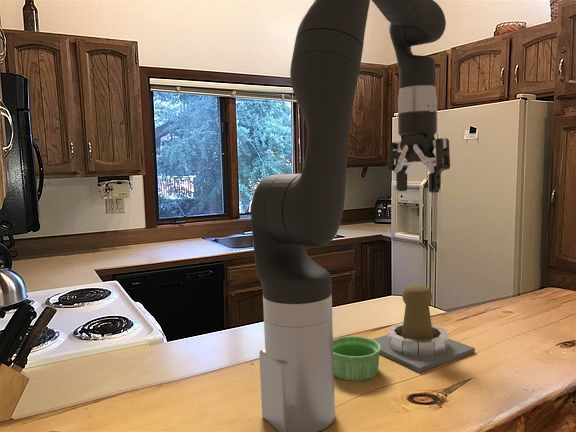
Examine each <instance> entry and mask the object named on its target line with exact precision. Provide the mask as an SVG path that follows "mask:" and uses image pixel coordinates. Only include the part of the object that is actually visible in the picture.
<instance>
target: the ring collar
mask: <svg viewBox="0 0 576 432" xmlns="http://www.w3.org/2000/svg"><path fill="white" fill-rule="evenodd" d="M431 324H432V323H431ZM402 330H403V322H400V323H397V324H392V325H390V327H388V329H387V330H386V331H387V332H386V335H387V344H388V345H389V347H390V348H391V349H392V350H394V351H396V352H399V353H401V354H404V355H410V356H417V357H418V356H419V357H425V356H436V355H439V354H442V353H445V352H446V350H447V348H448V338H449V333H448V331H446V329H444V328H443V327H441V326H439V325H435V324H432V332H433V339H431V340H414V339H407V338H404V337H402Z"/></svg>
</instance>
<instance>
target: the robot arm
mask: <svg viewBox="0 0 576 432" xmlns="http://www.w3.org/2000/svg"><path fill="white" fill-rule="evenodd" d="M371 1H372V2H373V4H374V5H375V6H376V7H377V9H378V11H380V13H381V14H382V15H383V16H384V18H385V19H386V20H387V21H388V22H389V28H388V29H389V30H388V31H389V35H390V40H391V42H392V47H393V48H394V52H395V57H396V61H397V66H398V67H397V68H398V89H399V90H398V99H397V113H398V114H397V119H398V120H397V121H398V122H397V123H398V125H397V126H398V129H397V131H398V135H399V136H400V141H395V142H389V144H388V145H389V147H388V148H389V149H388V171H393V172H394V173H395V174H396V176H395V177H396V179H395V180H396V189H397V191H398V192H407V190H408V173H407V171H408V170H409V168H410V166H412V165H413V164H414V163H417V162H419V163H420V162H421V163H422V164H423V165H425V167H426V168H427V170H428V171H429V174H428V192H429V193H432V194H433V193H439V192H440V190H441V187H442V184H441V182H442V179H441V178H442V177H441V175H442V172H444V171H446V170H449V169H450V168H451V157H450V156H451V155H450V140H449V138H447V137H446V138H444V137H441V138H438V137H437V138H436V137H435V135H436V133H437V132H438V98H437V91H436V89H437V87H436V61H435V59H434V58H433V57H432V56H429V55H418V54H417V55H416V54H414V53H413V52H412V47H415V46H420V45H421V46H422V45H428V44H431V43H435V42H437V41H438V40H440V39H441V37H443V35H444V32H445V30H446V26H447V22H446V21H447V20H446V16H445V13H444V10H443V9H442V8H441V6H440V4H439V3H437V2H436V1H435V0H313V1H312V3H311V5H310V6H309V8H308V9H307V11H306V12H305V14H304V16H303V17H302V19H301V21H300V23H299V25H298V28H297V32H296V36H295V39H294V40H295V41H294V45H293V46H294V47H293V52H292V56H291V63H290V72H289V73H290V74H289V77H290V83H291V88H292V91H293V95H294V97H295V100H296V102H297V106H298V108H299V109H300V112H301V114H302V116H303V120H304V123H305V126H306V134H307V135H306V137H307V138H306V140H307V141H306V149H305V150H306V151H305V157H304V163H303V169H302V172H301V173H280V174H278V173H277V174H271V175H268V176H266V177H264V178H263V179H261V181H260V182H259V183H258V185H257V186H256V188H255V189H254V192H253V196H252V199H251V208H250V209H251V211H250V216H251V217H250V218H251V220H250V221H251V223H250V224H251V232H252V243H253V245H252V246H253V253H254V262H255V263H254V265H255V272H256V275H257V277H258V279H259V281H260V284H261V288H262V303H263V305H262V306H263V309H262V310H263V327H264V328H263V329H264V330H263V332H264V348H263V349H260V350H259V374H260V375H259V376H260V377H259V378H260V397H261V398H260V399H261V416H262V418H263V419H265V420H266V421H267V422H268V423H269V424H270V425H271V426H272V427H273V428H274V429H275V430H276V431H278V432H320V431H323V430H325V429H326V428H328V427H329V426H331V425H332V424H333V422H334V420H335V418H336V407H335V406H336V405H335V403H336V401H335V399H336V397H335V376H334V361H333V339H334V335H333V332H334V331H333V298H332V297H333V295H332V293H333V290H332V287H333V286H332V284H333V283H332V276H331V274H330V272H329V271H328V270H327V269H326V268H324V267H322V266H321V265H319V264H318V263H317V262H315V261H314V260H313V259H312V258H311V257H310V256H309V255H308V253H307V251H306V250H305V246H307V247H323V246H326V245H328V244H330V242H332V241H333V239H334V238H335V237H336V235H337V233H338V231H339V229H340V225H341V223H342V218H343V213H344V209H345V198H346V197H345V196H346V184H347V167H348V153H349V152H348V151H349V140H350V139H349V138H350V131H351V122H352V117H353V109H354V101H355V95H356V90H357V85H358V79H359V75H360V69H361V63H362V58H363V51H364V44H365V43H364V41H365V33H366V26H367V20H368V14H369V9H370V3H371ZM434 150H435V151H434Z"/></svg>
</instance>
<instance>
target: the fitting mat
mask: <svg viewBox="0 0 576 432" xmlns="http://www.w3.org/2000/svg"><path fill="white" fill-rule="evenodd" d="M371 339H372V340H375V341H376V342H378V343H379V344H380V346H381V351H380V354H379V355H381V356H383V357H386V358H387V359H389V360H391V359H392V360H391V361H393V362H396V363H397V364H399V365H403V366H405V367H407V368H408V369H410V370H413V371H414V372H417V373H418V374H419V373H422V372H425V371H428V370H430V369H433V368H436V367H438V366H442V365H444V364H447V363H449V362H452V361H455V360H458V359H461V358H464V357H466V356H468V355H472V354H475V353H476V352H475V351H476V350H475V349H476V348H475V347H473V346H470V345H467V344H466V343H465V344H464V343H463V342H459V341H456V340H454V339H451V338H449V337H448V348H447V350H446V352H445V353H442V354H439V355H436V356H425V357H419V356H418V357H417V356H410V355H404V354H401V353H399V352H396V351H394V350H392V349H391V348H390V347H389V345H388V344H387V334H386V335H382V336H378V337H376V338H371Z"/></svg>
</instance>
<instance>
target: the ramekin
mask: <svg viewBox="0 0 576 432" xmlns="http://www.w3.org/2000/svg"><path fill="white" fill-rule="evenodd" d="M372 339H373V338H370V337H365V336H358V335H357V336H356V335H355V336H354V335H352V336H351V335H350V336H349V335H348V336H347V335H346V336H340V337H335V338H333V361H334V377H337V379H341V380H344V381H350V380H351V382H357V381H358V382H359V380H361V381H366V379H367V380H369V378H370V379H371V378H373V377H375V376H376V375H377V373H379V372H378V371H379V365H380V364H379V363H380V361H379V359H380V355H381V354H380V351H381V346H380V344H379V343H378V342H376V341H375V340H372ZM352 380H353V381H352Z"/></svg>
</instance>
